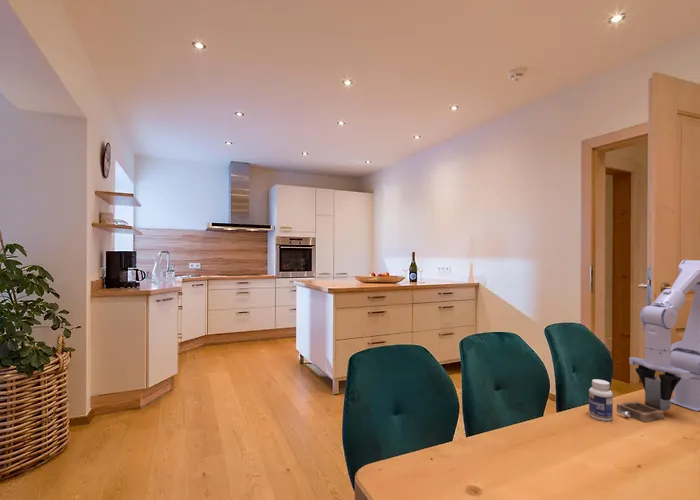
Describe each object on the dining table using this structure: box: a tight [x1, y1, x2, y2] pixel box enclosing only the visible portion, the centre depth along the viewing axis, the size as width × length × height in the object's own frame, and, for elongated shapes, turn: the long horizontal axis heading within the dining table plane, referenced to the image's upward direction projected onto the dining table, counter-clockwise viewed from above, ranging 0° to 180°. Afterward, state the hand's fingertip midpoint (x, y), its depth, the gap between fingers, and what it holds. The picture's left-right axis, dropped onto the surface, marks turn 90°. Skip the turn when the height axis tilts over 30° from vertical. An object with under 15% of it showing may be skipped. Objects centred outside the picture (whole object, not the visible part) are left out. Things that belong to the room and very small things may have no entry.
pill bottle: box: [588, 378, 614, 422], centre depth 101 cm, size 5×5×10 cm
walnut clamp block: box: [616, 400, 665, 423], centre depth 103 cm, size 10×7×2 cm
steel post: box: [644, 375, 671, 411], centre depth 105 cm, size 4×4×8 cm
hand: (657, 396), depth 105 cm, fingers closed on steel post, 4 cm apart
